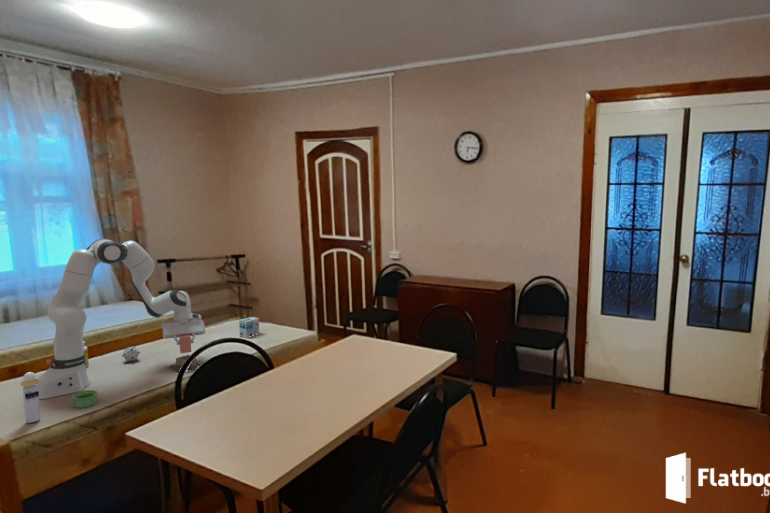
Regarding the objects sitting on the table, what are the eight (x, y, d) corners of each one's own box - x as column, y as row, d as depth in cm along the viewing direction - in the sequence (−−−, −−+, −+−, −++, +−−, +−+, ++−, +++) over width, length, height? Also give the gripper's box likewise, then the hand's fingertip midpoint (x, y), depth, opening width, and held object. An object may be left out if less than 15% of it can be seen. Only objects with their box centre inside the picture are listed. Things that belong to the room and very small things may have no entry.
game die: (127, 368, 250) (114, 354, 249) (140, 358, 257) (127, 344, 255) (134, 363, 246) (121, 349, 244) (147, 353, 252) (134, 339, 251)
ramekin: (101, 404, 201) (100, 394, 200) (76, 411, 194) (76, 400, 194) (94, 397, 207) (93, 388, 206) (70, 404, 200) (69, 394, 199)
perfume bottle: (22, 421, 184) (17, 372, 182) (40, 416, 188) (36, 368, 186) (25, 426, 180) (21, 376, 178) (44, 421, 185) (39, 372, 182)
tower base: (180, 373, 235) (180, 363, 234) (168, 367, 242) (168, 358, 242) (203, 367, 244) (203, 357, 244) (191, 361, 252) (190, 352, 251)
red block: (180, 353, 239) (179, 338, 238) (180, 350, 243) (179, 335, 242) (191, 352, 241) (190, 336, 240) (190, 349, 246) (189, 334, 244)
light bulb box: (246, 338, 292) (246, 321, 291) (239, 336, 296) (238, 319, 295) (259, 334, 301) (259, 317, 300) (252, 332, 305) (252, 316, 304)
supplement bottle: (91, 365, 244) (90, 341, 242) (78, 369, 238) (76, 345, 236) (83, 363, 247) (81, 339, 245) (70, 367, 241) (68, 343, 239)
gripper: (161, 318, 242) (162, 342, 234) (203, 314, 251) (206, 337, 243) (161, 325, 246) (162, 348, 239) (203, 320, 255) (206, 343, 248)
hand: (185, 343), depth 241 cm, fingers closed on red block, 5 cm apart
